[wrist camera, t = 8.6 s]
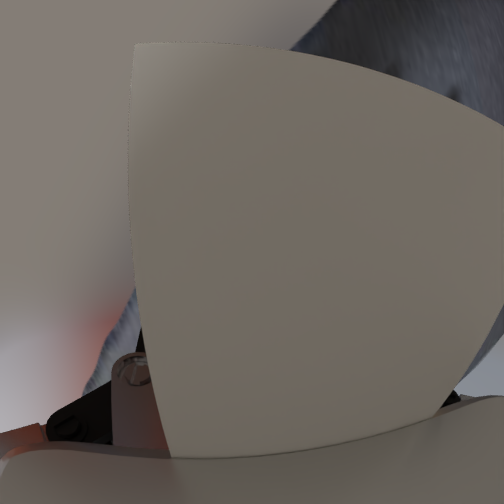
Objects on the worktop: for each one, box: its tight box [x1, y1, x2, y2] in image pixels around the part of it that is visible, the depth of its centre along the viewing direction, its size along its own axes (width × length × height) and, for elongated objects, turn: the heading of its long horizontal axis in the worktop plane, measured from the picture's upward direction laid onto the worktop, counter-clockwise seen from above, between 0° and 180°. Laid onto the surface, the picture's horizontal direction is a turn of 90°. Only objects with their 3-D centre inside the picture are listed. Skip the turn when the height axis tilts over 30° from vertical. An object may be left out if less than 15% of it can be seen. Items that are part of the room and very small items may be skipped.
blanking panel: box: [128, 42, 504, 458], centre depth 9 cm, size 4×14×9 cm, turn 175°
